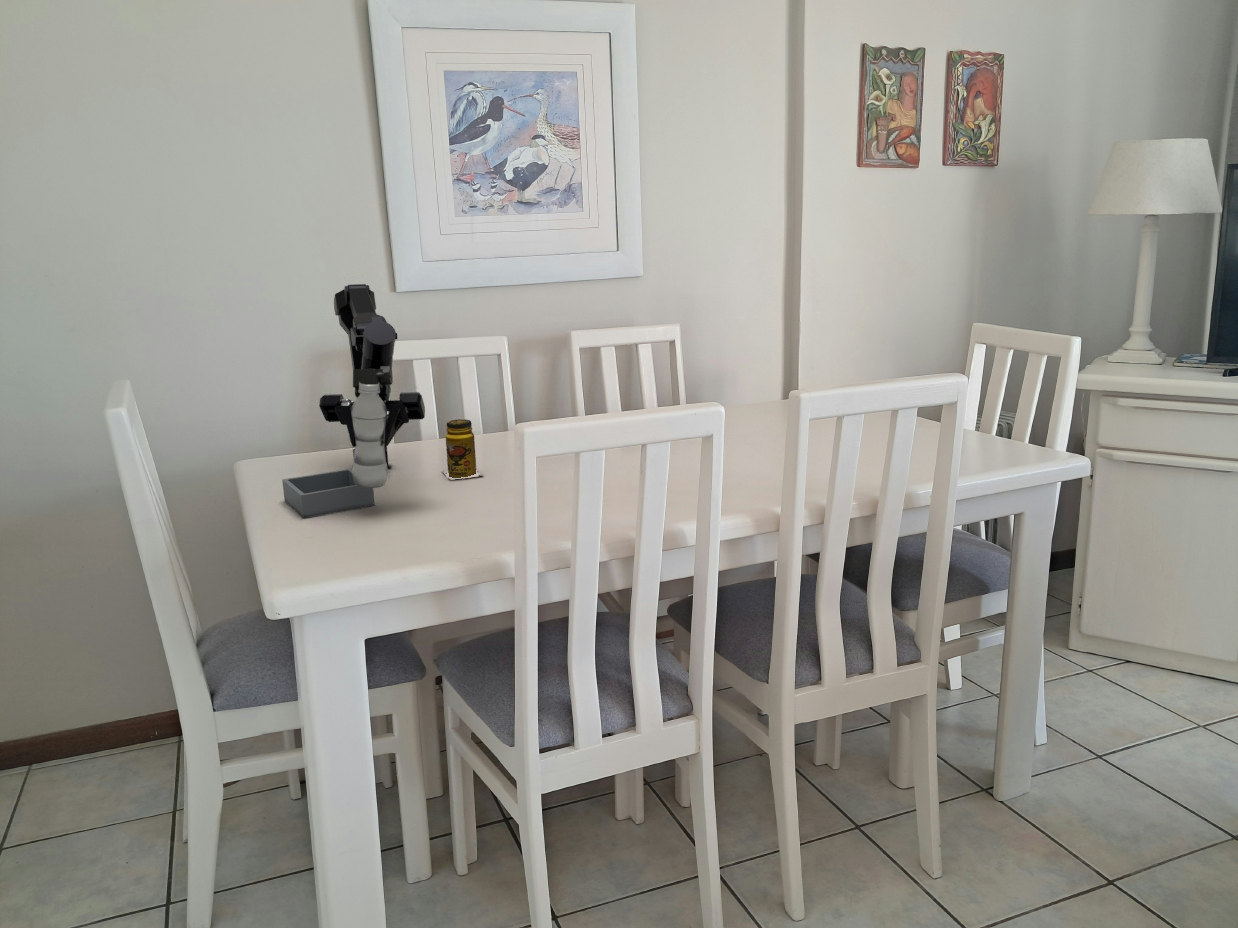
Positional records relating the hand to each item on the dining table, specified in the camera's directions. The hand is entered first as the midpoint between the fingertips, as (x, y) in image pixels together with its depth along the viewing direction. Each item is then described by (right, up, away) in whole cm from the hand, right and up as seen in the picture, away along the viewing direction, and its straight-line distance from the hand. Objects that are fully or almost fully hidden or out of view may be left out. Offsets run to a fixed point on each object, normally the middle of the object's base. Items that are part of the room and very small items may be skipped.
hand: (369, 445), depth 171 cm
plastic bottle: (-1, -8, +4) cm, 9 cm away
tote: (-11, -11, +10) cm, 18 cm away
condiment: (+12, -6, +29) cm, 32 cm away
